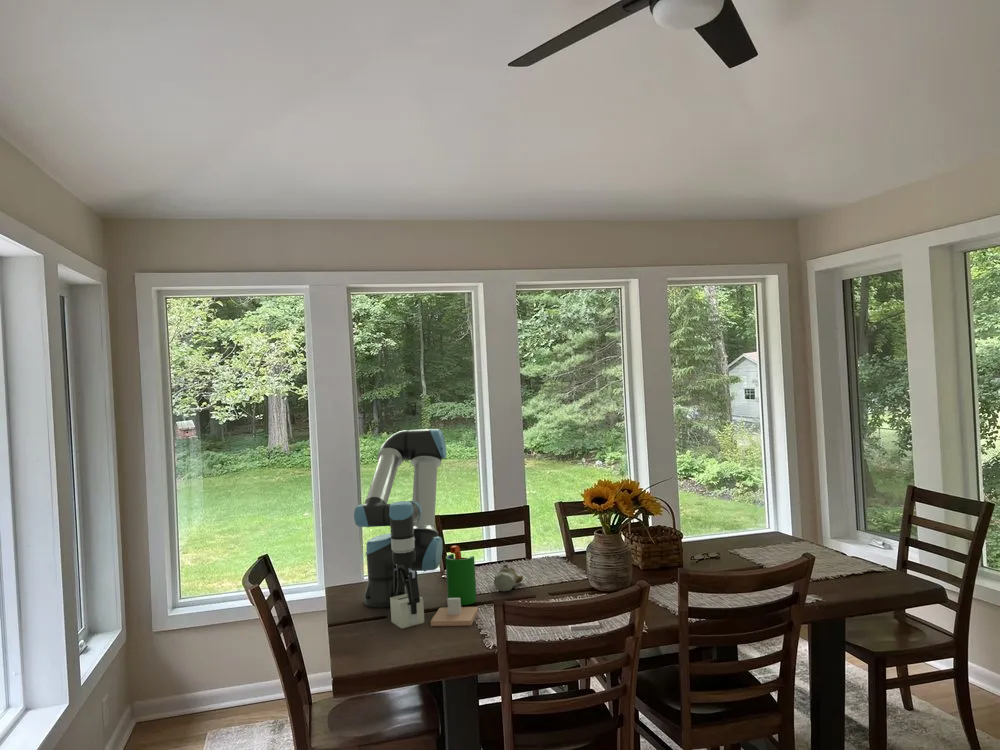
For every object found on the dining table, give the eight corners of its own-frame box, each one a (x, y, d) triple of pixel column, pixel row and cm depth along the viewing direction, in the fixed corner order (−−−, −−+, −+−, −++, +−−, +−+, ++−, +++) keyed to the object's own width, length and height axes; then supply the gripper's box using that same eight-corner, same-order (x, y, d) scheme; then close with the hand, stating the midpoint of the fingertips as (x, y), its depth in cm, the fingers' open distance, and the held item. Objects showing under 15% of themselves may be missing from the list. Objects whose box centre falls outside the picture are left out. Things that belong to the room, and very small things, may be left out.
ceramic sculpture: (487, 568, 257) (496, 560, 272) (488, 593, 257) (497, 583, 271) (516, 569, 255) (523, 560, 270) (517, 593, 255) (524, 583, 269)
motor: (479, 598, 252) (476, 541, 252) (470, 606, 244) (467, 548, 244) (453, 596, 256) (450, 541, 255) (443, 605, 247) (439, 547, 247)
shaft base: (430, 625, 227) (429, 605, 227) (439, 611, 240) (438, 592, 240) (471, 625, 225) (469, 604, 225) (478, 611, 238) (476, 591, 238)
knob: (401, 628, 226) (400, 602, 226) (391, 621, 233) (389, 596, 233) (424, 622, 230) (422, 597, 230) (413, 616, 237) (412, 591, 237)
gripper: (428, 553, 225) (432, 625, 225) (400, 542, 242) (404, 609, 243) (406, 558, 221) (410, 631, 221) (380, 546, 238) (384, 614, 239)
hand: (407, 620), depth 232 cm, fingers closed on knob, 8 cm apart
